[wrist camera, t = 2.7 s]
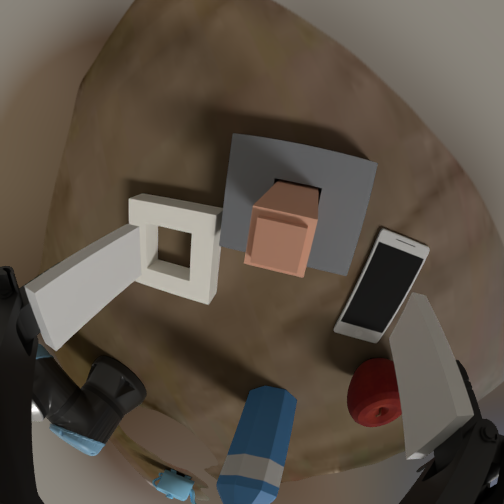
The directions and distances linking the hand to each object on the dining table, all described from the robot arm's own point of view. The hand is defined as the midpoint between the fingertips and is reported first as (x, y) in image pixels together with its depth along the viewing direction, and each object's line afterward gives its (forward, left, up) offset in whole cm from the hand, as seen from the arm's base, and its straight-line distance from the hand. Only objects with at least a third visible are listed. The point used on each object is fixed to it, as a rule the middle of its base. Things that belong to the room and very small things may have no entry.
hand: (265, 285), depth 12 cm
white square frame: (-14, -9, -20) cm, 26 cm away
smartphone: (+13, -9, -20) cm, 26 cm away
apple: (+18, -22, -20) cm, 35 cm away
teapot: (-18, -120, -20) cm, 123 cm away
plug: (0, 0, -20) cm, 20 cm away
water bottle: (+4, -36, -20) cm, 41 cm away
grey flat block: (0, 0, -20) cm, 20 cm away
